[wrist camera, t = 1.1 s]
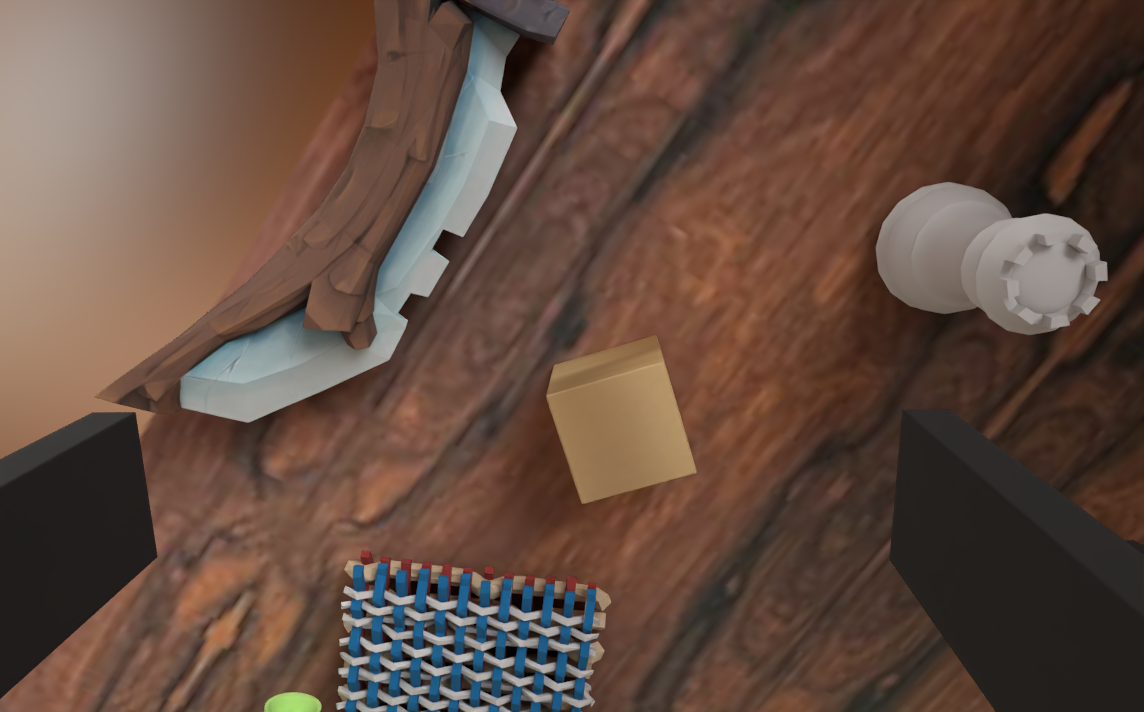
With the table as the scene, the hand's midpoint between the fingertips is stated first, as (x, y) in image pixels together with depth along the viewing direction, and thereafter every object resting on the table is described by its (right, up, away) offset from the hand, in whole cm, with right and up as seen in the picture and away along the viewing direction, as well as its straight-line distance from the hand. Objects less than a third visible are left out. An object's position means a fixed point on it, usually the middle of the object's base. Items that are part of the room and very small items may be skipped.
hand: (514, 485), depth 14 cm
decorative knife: (+5, +23, +9) cm, 26 cm away
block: (+3, +1, +17) cm, 17 cm away
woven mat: (-3, -11, +20) cm, 23 cm away
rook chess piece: (+14, +6, +15) cm, 21 cm away
